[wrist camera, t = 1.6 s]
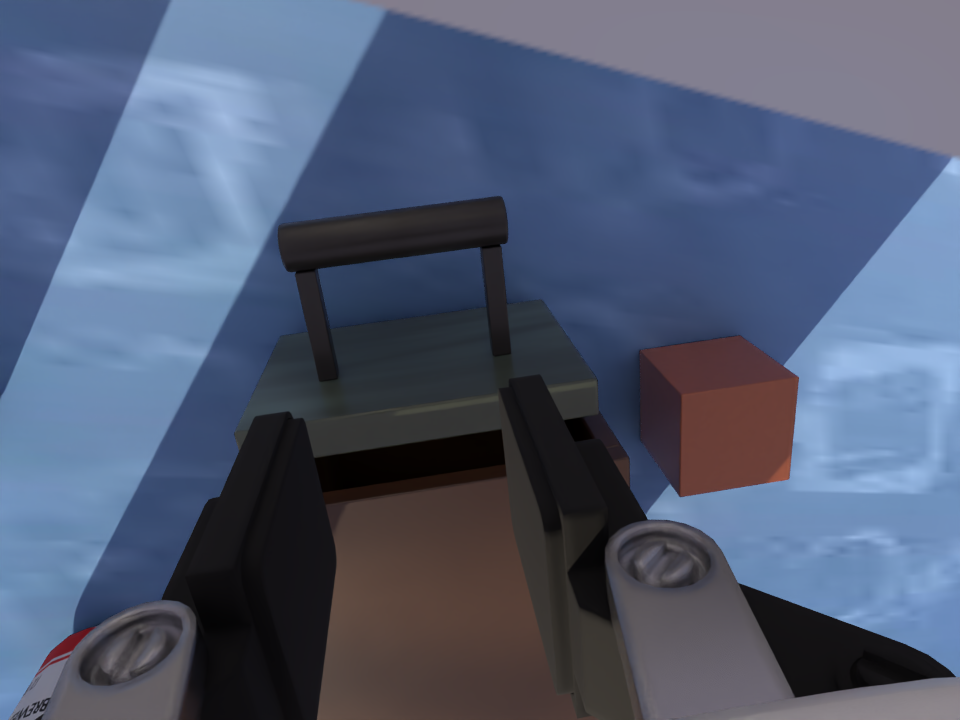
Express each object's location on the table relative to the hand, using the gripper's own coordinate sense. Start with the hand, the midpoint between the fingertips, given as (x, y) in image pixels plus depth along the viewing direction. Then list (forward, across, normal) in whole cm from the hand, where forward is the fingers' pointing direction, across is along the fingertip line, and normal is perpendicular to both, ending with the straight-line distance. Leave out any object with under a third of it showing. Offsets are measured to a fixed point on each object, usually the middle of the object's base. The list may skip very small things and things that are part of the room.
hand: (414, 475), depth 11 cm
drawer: (+14, 0, +6) cm, 16 cm away
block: (+15, -12, +7) cm, 20 cm away
